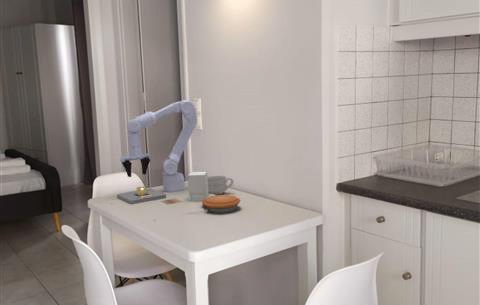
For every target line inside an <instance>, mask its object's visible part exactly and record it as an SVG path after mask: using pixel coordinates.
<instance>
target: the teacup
mask: <svg viewBox="0 0 480 305" xmlns="http://www.w3.org/2000/svg"><path fill="white" fill-rule="evenodd" d="M207 178H208V194H212V195H213V196H215V195H223V194H224V192H225V191H228V189H229V188H230V187H232V186H233V185H234V179H233V178H232V177H230V176H229V177H226V176H224V175H207ZM229 180H230V183H229V185H227V183H228V181H229Z"/></svg>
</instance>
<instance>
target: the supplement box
mask: <svg viewBox="0 0 480 305" xmlns="http://www.w3.org/2000/svg"><path fill="white" fill-rule="evenodd" d="M207 177H208V171H190V173H189V174H188V175H187V183H188V184H187V185H188V199H189V202H202V201H203V200H204V199H206V198H207V197H210V196H209V193H208V178H207Z"/></svg>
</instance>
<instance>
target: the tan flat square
mask: <svg viewBox="0 0 480 305" xmlns="http://www.w3.org/2000/svg"><path fill="white" fill-rule="evenodd" d="M160 202H161V203H164V204H166V205H171V204H177V203H178V204H179V203H183V202H184V201H182V200H180V199H177V198H171V199H165V200H161V201H160Z"/></svg>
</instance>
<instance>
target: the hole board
mask: <svg viewBox="0 0 480 305" xmlns="http://www.w3.org/2000/svg"><path fill="white" fill-rule="evenodd" d="M116 197H117V198H116V199H117V200H122V201H124V202H125V203H127V204H130V205H136V204H141V203H146V202H147V203H148V202H152V201H153V202H154V201H157V200H163V199H167V194H165V193H163V192H161V191H157V190H155V189H153V188H146V195H144V196H137V190H135V191H128V192H121V193H116Z"/></svg>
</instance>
